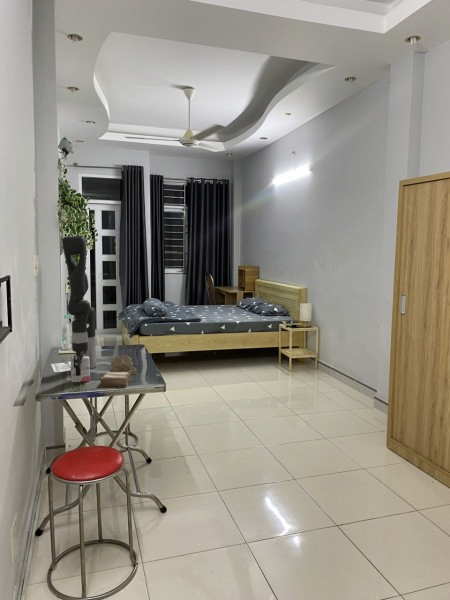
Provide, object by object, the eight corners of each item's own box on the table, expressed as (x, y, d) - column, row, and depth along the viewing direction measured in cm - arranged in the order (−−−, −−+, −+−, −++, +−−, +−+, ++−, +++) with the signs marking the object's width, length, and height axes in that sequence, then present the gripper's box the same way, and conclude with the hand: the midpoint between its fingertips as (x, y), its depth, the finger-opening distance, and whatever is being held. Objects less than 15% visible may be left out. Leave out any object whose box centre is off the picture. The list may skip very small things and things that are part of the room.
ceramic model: (109, 377, 236) (109, 357, 235) (107, 371, 247) (107, 353, 246) (137, 374, 241) (137, 356, 240) (134, 369, 251) (134, 351, 250)
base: (106, 379, 231) (106, 371, 231) (130, 379, 231) (130, 371, 231) (100, 386, 219) (100, 378, 219) (126, 386, 219) (126, 377, 219)
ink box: (90, 378, 232) (89, 355, 231) (89, 381, 227) (89, 357, 226) (72, 379, 230) (71, 356, 229) (71, 382, 226) (70, 358, 224)
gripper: (76, 338, 234) (77, 369, 235) (67, 343, 220) (68, 377, 221) (91, 338, 234) (92, 369, 236) (83, 343, 220) (84, 377, 221)
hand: (80, 373), depth 228 cm, fingers open, 8 cm apart
